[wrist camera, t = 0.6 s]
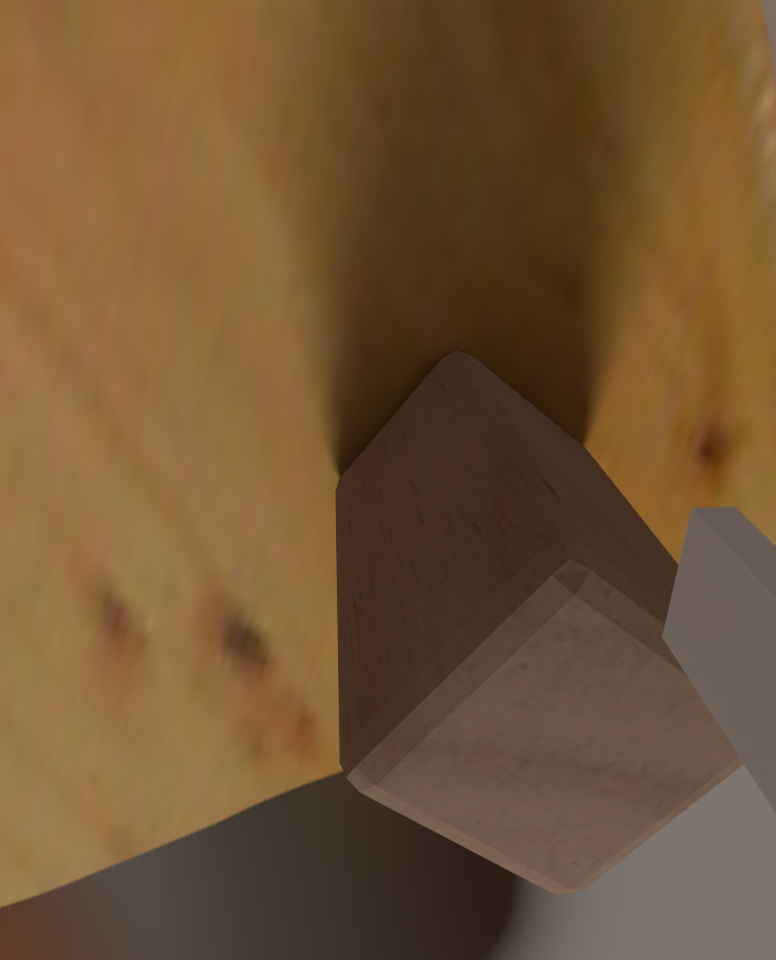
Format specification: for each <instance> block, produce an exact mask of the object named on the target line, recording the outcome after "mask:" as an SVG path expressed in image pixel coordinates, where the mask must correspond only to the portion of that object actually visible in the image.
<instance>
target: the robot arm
mask: <svg viewBox="0 0 776 960" xmlns="http://www.w3.org/2000/svg"><path fill="white" fill-rule="evenodd" d="M662 638H663V639H664V641H665V642H666V644H667V646H668V647H669V649H670V650H671V652H672V653H673V655H674V656H675V658H676V659H677V661H678V663H679V664H680V666H681V667H682V669H683V670H684V672H685V673H686V675H687V677H688V678H689V680H690V681H691V683H692V684H693V686H694V687H695V689H696V690H697V692H698V694H699V695H700V697H701V698H702V700H703V701H704V703H705V704H706V706H707V707H708V709H709V711H710V712H711V714H712V715H713V717H714V718H715V720H716V721H717V723H718V725H719V726H720V728H721V729H722V731H723V732H724V734H725V735H726V737H727V738H728V740H729V742H730V743H731V745H732V746H733V748H734V749H735V751H736V752H737V754H738V756H739V757H740V759H741V760H742V762H743V763H744V765H745V766H746V768H747V769H748V771H749V773H750V774H751V776H752V777H753V778H754V780H755V782H756V783H757V785H758V786H759V788H760V789H761V791H762V793H763V794H764V796H765V797H766V799H767V800H768V802H769V803H770V805H771V806H772V808H773V810H774V811H775V813H776V546H775V545H774V544H773V543H772V542H771V541H770V540H769V539H768V538H767V537H766V536H765V535H764V534H763V533H761V532H760V531H759V530H758V529H757V528H756V527H755V526H754V525H753V524H752V523H751V522H750V521H749V520H748V519H747V518H746V517H745V516H744V515H743V514H742V513H741V512H740V511H739V510H738V509H737V508H736V507H711V508H692V510H691V514H690V518H689V523H688V527H687V531H686V536H685V540H684V544H683V549H682V553H681V557H680V562H679V566H678V570H677V574H676V579H675V583H674V587H673V592H672V596H671V600H670V605H669V609H668V613H667V618H666V622H665V626H664V631H663V635H662Z"/></svg>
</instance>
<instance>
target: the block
mask: <svg viewBox="0 0 776 960" xmlns="http://www.w3.org/2000/svg"><path fill="white" fill-rule="evenodd" d="M336 553H337V617H338V680H339V744H340V764H341V767H342V769H343V771H344V773H345V775H346V778H347V779H348V780H349V781H350V782H351V783H352V784H353V785H354V786H355V788H356V789H357V790H358V791H359V792H361V793H363V794H364V795H366V796H368V797H370V798H372V799H374V800H376V801H378V802H379V803H381V804H384V805H385V806H387V807H390V808H391V809H393V810H395V811H397V812H399V813H401V814H402V815H404V816H406V817H408V818H410V819H412V820H414V821H416V822H418V823H419V824H421V825H423V826H425V827H427V828H429V829H431V830H433V831H435V832H437V833H439V834H441V835H442V836H444V837H446V838H448V839H450V840H452V841H454V842H456V843H458V844H460V845H462V846H463V847H466V848H467V849H469V850H471V851H473V852H475V853H477V854H479V855H481V856H482V857H484V858H486V859H488V860H490V861H492V862H494V863H496V864H498V865H500V866H502V867H503V868H505V869H507V870H509V871H511V872H513V873H515V874H517V875H519V876H521V877H522V878H524V879H527V880H528V881H530V882H532V883H534V884H536V885H538V886H540V887H542V888H544V889H545V890H547V891H549V892H551V893H553V894H570V893H573V892H577V891H580V890H584V889H585V888H586V887H587V886H589V885H590V884H591V883H593V882H594V881H595V880H596V879H598V878H599V877H600V876H602V875H603V874H604V873H605V872H607V871H608V870H609V869H610V868H612V867H613V866H614V865H616V864H617V863H618V862H619V861H621V860H622V859H623V858H625V857H626V856H627V855H628V854H630V853H631V852H632V851H633V850H635V849H636V848H637V847H639V846H640V845H641V844H642V843H644V842H645V841H646V840H647V839H649V838H650V837H651V836H653V835H654V834H655V833H656V832H658V831H659V830H660V829H661V828H663V827H664V826H665V825H667V824H668V823H669V822H670V821H672V820H673V819H674V818H676V817H677V816H678V815H679V814H681V813H682V812H683V811H684V810H686V809H687V808H688V807H689V806H691V805H692V804H693V803H695V802H696V801H697V800H698V799H700V798H701V797H702V796H704V795H705V794H706V793H707V792H708V791H710V790H711V789H713V788H714V787H715V786H716V785H718V784H719V783H720V782H722V781H723V780H724V779H725V778H727V777H728V776H729V775H730V774H732V773H733V772H734V771H735V770H737V769H738V768H739V767H741V766H742V765H743V764H744V763H743V762H742V760H741V759H740V757H739V756H738V754H737V752H736V751H735V749H734V748H733V746H732V745H731V743H730V742H729V740H728V738H727V737H726V735H725V734H724V732H723V731H722V729H721V728H720V726H719V725H718V723H717V721H716V720H715V718H714V717H713V715H712V714H711V712H710V711H709V709H708V707H707V706H706V704H705V703H704V701H703V700H702V698H701V697H700V695H699V694H698V692H697V690H696V689H695V687H694V686H693V684H692V683H691V681H690V680H689V678H688V677H687V675H686V673H685V672H684V670H683V669H682V667H681V666H680V664H679V663H678V661H677V659H676V658H675V656H674V655H673V653H672V652H671V650H670V649H669V647H668V646H667V644H666V642H665V641H664V639H663V638H662V635H663V631H664V626H665V622H666V618H667V613H668V609H669V605H670V600H671V596H672V592H673V587H674V583H675V579H676V574H677V570H678V566H679V565H678V564H677V562H676V561H675V560H674V559H673V557H672V556H671V555H670V554H669V552H668V551H667V550H666V549H665V547H664V546H663V545H662V544H661V542H660V541H659V540H658V539H657V537H656V536H655V535H654V534H653V532H652V531H651V530H650V529H649V527H648V526H647V525H646V523H645V522H644V521H643V520H642V518H641V517H640V516H639V515H638V513H637V512H636V511H635V510H634V508H633V507H632V506H631V505H630V503H629V502H628V501H627V500H626V498H625V497H624V496H623V495H622V493H621V492H620V491H619V489H618V488H617V487H616V486H615V484H614V483H613V482H612V481H611V479H610V478H609V477H608V476H607V474H606V473H605V472H604V471H603V469H602V468H601V467H600V466H599V464H598V463H597V462H596V461H595V459H594V458H593V457H592V455H591V454H590V453H589V452H588V450H587V449H586V448H585V447H583V446H582V445H581V444H580V443H579V442H577V441H576V440H575V439H574V438H572V437H571V436H570V435H569V434H568V433H566V432H565V431H564V430H563V429H561V428H560V427H559V426H558V425H557V424H555V423H554V422H553V421H552V420H550V419H549V418H548V417H547V416H546V415H544V414H543V413H542V412H541V411H539V410H538V409H537V408H536V407H535V406H533V405H532V404H531V403H530V402H528V401H527V400H526V399H525V398H524V397H522V396H521V395H520V394H519V393H517V392H516V391H515V390H514V389H513V388H511V387H510V386H509V385H508V384H506V383H505V382H504V381H503V380H502V379H500V378H499V377H498V376H497V375H495V374H494V373H493V372H492V371H491V370H489V369H488V368H487V367H486V366H484V365H483V364H482V363H481V362H480V361H478V360H477V359H476V358H475V357H473V356H472V355H471V354H467V353H463V352H460V351H454V352H452V353H451V354H449V355H447V356H445V357H443V358H442V359H441V360H440V361H439V362H438V363H437V365H436V366H435V367H434V368H433V369H432V370H431V372H430V373H429V374H428V375H427V376H426V377H425V379H424V380H423V381H422V382H421V383H420V384H419V386H418V387H417V388H416V389H415V390H414V392H413V393H412V394H411V395H410V396H409V397H408V399H407V400H406V401H405V402H404V403H403V404H402V406H401V407H400V408H399V409H398V410H397V411H396V413H395V414H394V415H393V416H392V417H391V418H390V420H389V421H388V422H387V423H386V424H385V426H384V427H383V428H382V429H381V430H380V431H379V433H378V434H377V435H376V436H375V437H374V438H373V440H372V441H371V442H370V443H369V444H368V445H367V447H366V448H365V449H364V450H363V451H362V453H361V454H360V455H359V456H358V457H357V458H356V460H355V461H354V462H353V463H352V464H351V465H350V467H349V468H348V469H347V470H346V471H345V472H344V474H343V475H342V476H341V477H340V478H339V482H338V485H337V488H336Z"/></svg>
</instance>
